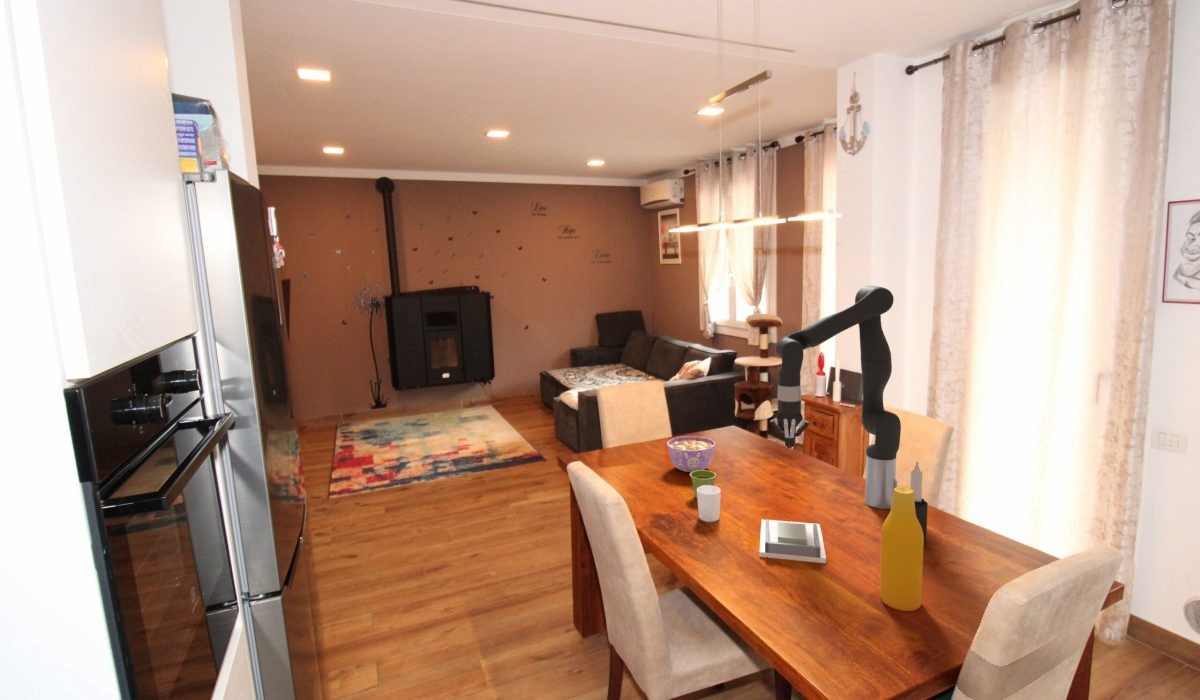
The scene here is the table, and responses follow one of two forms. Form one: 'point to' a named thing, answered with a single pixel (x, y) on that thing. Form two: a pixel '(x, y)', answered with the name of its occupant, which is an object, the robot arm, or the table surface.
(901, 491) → the beer bottle
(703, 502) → the white cup
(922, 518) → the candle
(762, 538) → the loading dock
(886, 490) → the robot arm
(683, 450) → the bowl of food
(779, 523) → the grey rectangular block
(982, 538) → the table surface
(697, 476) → the plant pot
